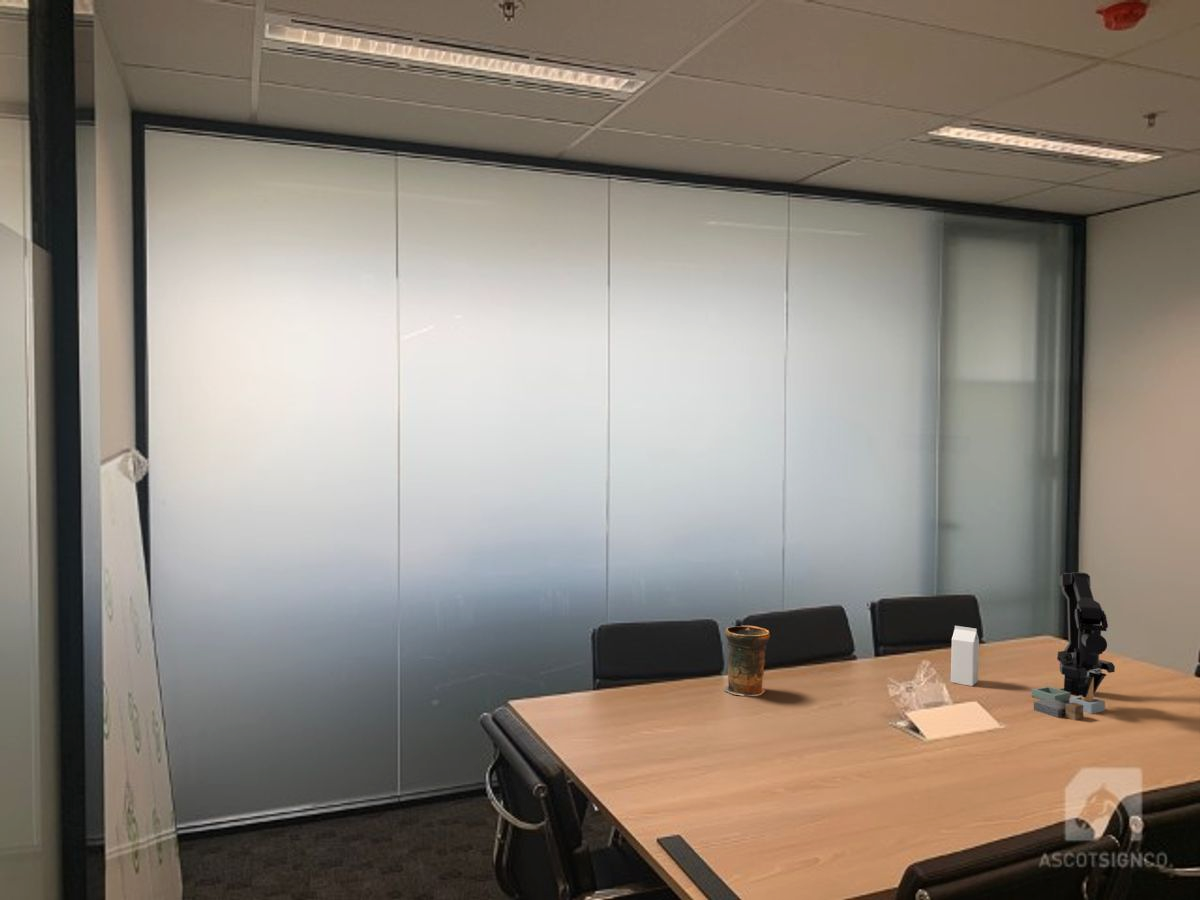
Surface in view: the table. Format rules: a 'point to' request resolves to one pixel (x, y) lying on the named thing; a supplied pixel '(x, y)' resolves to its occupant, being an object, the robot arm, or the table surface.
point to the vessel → (746, 659)
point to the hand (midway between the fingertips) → (1087, 696)
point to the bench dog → (1074, 711)
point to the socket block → (1089, 704)
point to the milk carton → (964, 656)
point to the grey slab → (1051, 707)
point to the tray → (1050, 694)
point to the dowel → (1089, 693)
